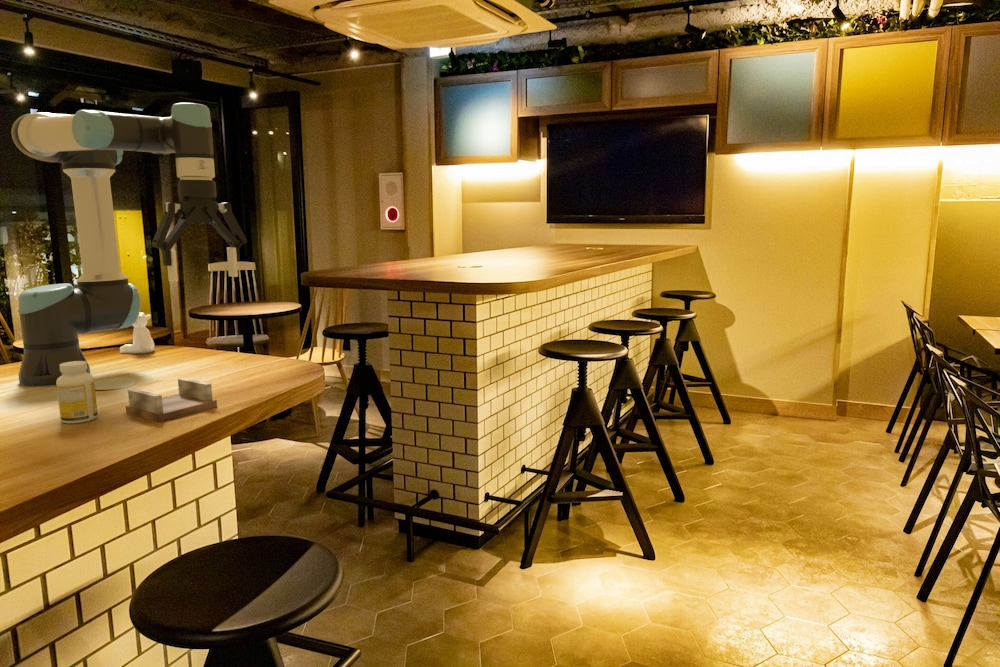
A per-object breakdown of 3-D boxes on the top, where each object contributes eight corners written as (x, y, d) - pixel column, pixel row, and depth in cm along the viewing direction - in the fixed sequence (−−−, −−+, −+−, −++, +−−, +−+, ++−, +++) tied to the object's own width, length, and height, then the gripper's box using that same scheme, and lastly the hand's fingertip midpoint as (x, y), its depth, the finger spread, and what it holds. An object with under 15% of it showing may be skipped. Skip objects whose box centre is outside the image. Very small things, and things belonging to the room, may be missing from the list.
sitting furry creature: (149, 347, 218) (145, 309, 216) (165, 350, 214) (162, 310, 212) (118, 353, 211) (114, 312, 209) (135, 356, 206) (131, 315, 204)
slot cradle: (126, 413, 147) (123, 389, 146) (183, 399, 158) (181, 377, 157) (159, 422, 141) (157, 397, 140) (217, 406, 151) (215, 383, 151)
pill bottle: (90, 413, 147) (84, 358, 145) (103, 418, 143) (97, 362, 141) (55, 420, 142) (48, 363, 140) (68, 426, 138) (61, 368, 136)
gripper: (144, 177, 140) (154, 284, 144) (258, 180, 159) (265, 275, 162) (128, 178, 145) (137, 282, 148) (241, 181, 163) (247, 273, 167)
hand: (204, 279), depth 155 cm, fingers open, 13 cm apart
